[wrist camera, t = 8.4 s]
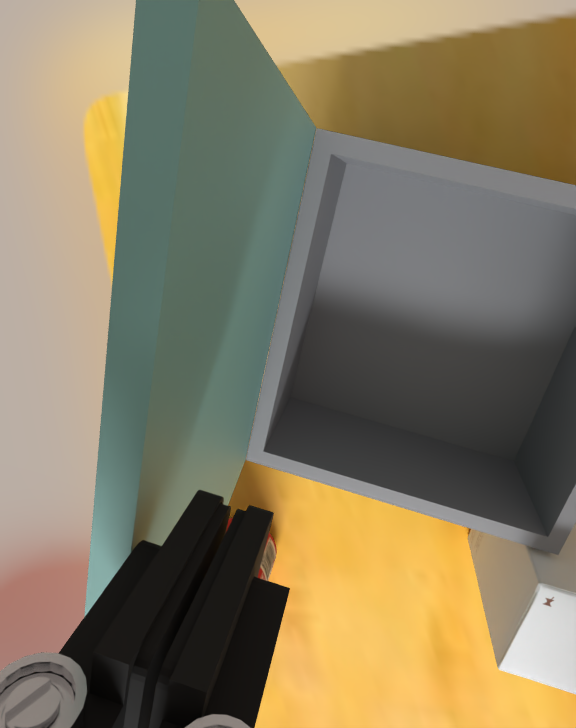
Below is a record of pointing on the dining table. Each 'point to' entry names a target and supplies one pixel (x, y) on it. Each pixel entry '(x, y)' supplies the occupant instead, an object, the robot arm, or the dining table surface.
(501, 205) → the box
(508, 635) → the supplement box
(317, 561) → the dining table surface
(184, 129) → the lid
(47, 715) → the robot arm
